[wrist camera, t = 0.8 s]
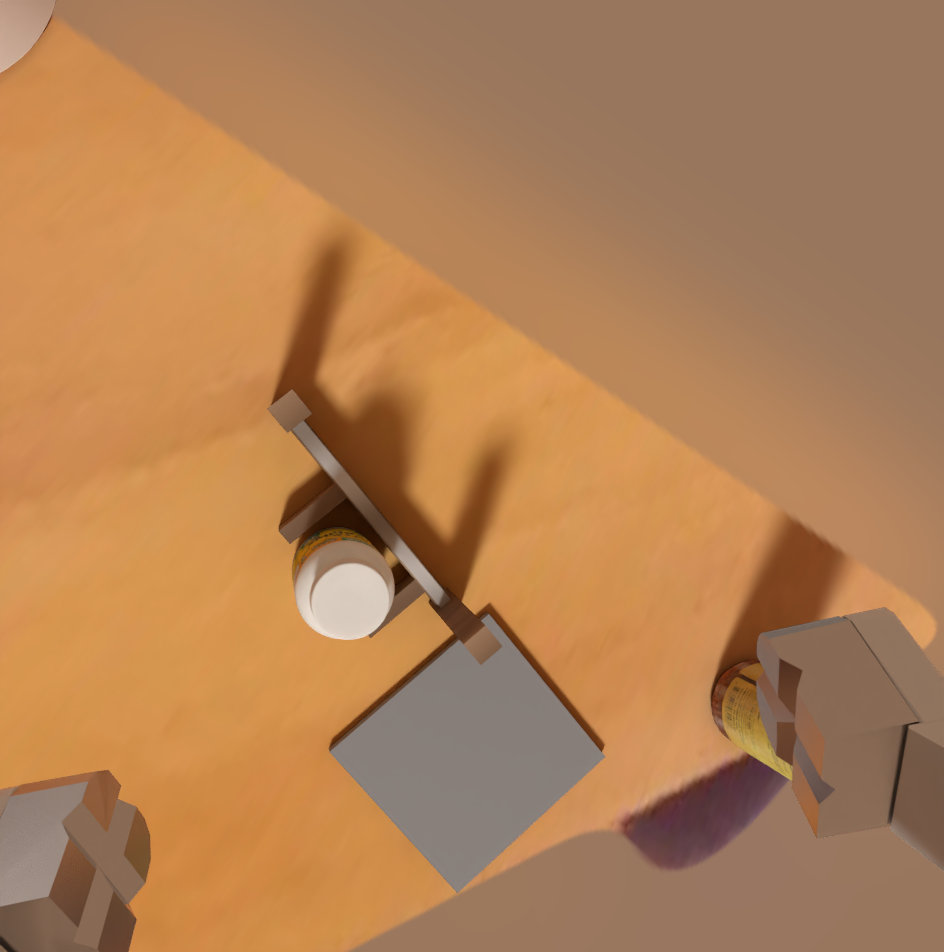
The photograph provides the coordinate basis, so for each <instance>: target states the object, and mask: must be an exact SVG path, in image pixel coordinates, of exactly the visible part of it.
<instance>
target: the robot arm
mask: <svg viewBox="0 0 944 952" xmlns="http://www.w3.org/2000/svg"><path fill="white" fill-rule="evenodd" d="M55 3H56V0H0V73H1V72H3V71H4V70H6V69H7V68H9V67H10V66H12V65H13V64H14V63H16V62H17V61H18V60H19V59H21V58H22V57H23V56H24V55H25V54H26V53H27V52H28V51H29V50H30V49H31V48H32V46H33V45H34V44H35V43H36V42H37V40H38V39H39V37H40V36H41V34H42V33H43V31H44V29H45V28H46V26H47V24H48V22H49V19H50V17H51V15H52V12H53V9H54V6H55ZM757 657H758V659H759V661H760V663H761V665H762V667H763V669H764V672H763V673H762V674H761V675H760V676H759V678H758V679H757V680H756V684H757V701H758V706H759V711H760V715H761V720H762V723H763V726H764V728H765V731H766V734H767V737H768V739H769V741H770V743H771V745H772V748H773V750H774V752H775V754H776V756H778V757H779V758H781V759H782V760H784V761H785V762H787V763H788V764H790V765H791V766H793V771H792V789H793V791H794V793H795V795H796V797H797V799H798V802H799V804H800V806H801V808H802V810H803V811H804V814H805V816H806V817H807V820H808V822H809V824H810V826H811V828H812V830H813V832H814V834H815V836H816V838H822V837H828V836H834V835H840V834H846V833H851V832H857V831H863V830H869V829H874V828H881V827H886V826H891V831H893V832H894V833H895V834H896V835H898V836H899V837H900V838H902V839H903V840H904V841H905V842H907V843H908V844H909V845H910V846H912V847H913V848H914V849H916V850H917V851H918V852H919V853H921V854H922V855H923V856H925V857H926V858H927V859H928V860H930V861H931V862H932V863H933V864H935V865H936V866H937V867H939V868H940V869H941V870H942V871H944V677H943V676H942V675H941V674H940V673H939V671H938V670H937V668H936V667H935V666H934V664H933V663H932V662H931V660H930V659H929V658H928V657H927V655H926V654H925V653H924V651H923V650H922V649H921V647H920V646H919V645H918V644H917V642H916V641H915V640H914V638H913V637H912V636H911V634H910V633H909V632H908V630H907V629H906V628H905V627H904V625H903V624H902V623H901V621H900V620H899V619H898V617H897V616H896V615H895V614H894V612H892V611H890V610H889V609H887V608H885V607H883V608H879V609H874V610H869V611H864V612H859V613H855V614H850V615H845V616H842V617H839V616H837V617H833V618H828V619H823V620H819V621H814V622H810V623H805V624H801V625H796V626H792V627H787V628H782V629H778V630H773V631H769V632H764V633H760V635H759V637H758V640H757ZM120 788H121V785H120V784H119V782H118V781H117V780H116V779H115V778H114V776H113V775H112V774H111V773H110V771H109V770H104V771H96V772H90V773H84V774H79V775H73V776H68V777H62V778H56V779H51V780H45V781H40V782H34V783H28V784H23V785H19V786H14V787H8V788H3V789H0V952H128V951H129V947H130V943H131V939H132V935H133V931H134V927H135V923H136V917H135V915H134V913H133V911H132V909H131V907H130V905H129V902H130V901H131V900H132V899H133V898H134V896H135V895H136V894H137V893H138V891H139V890H140V889H141V888H142V886H143V885H144V884H145V882H146V878H147V873H148V869H149V864H150V860H151V857H150V834H149V831H148V828H147V824H146V821H145V819H144V817H143V816H142V814H141V813H140V811H139V810H138V808H137V807H136V806H133V805H131V804H128V803H126V802H124V801H121V800H119V799H117V798H118V795H119V791H120Z"/></svg>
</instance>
